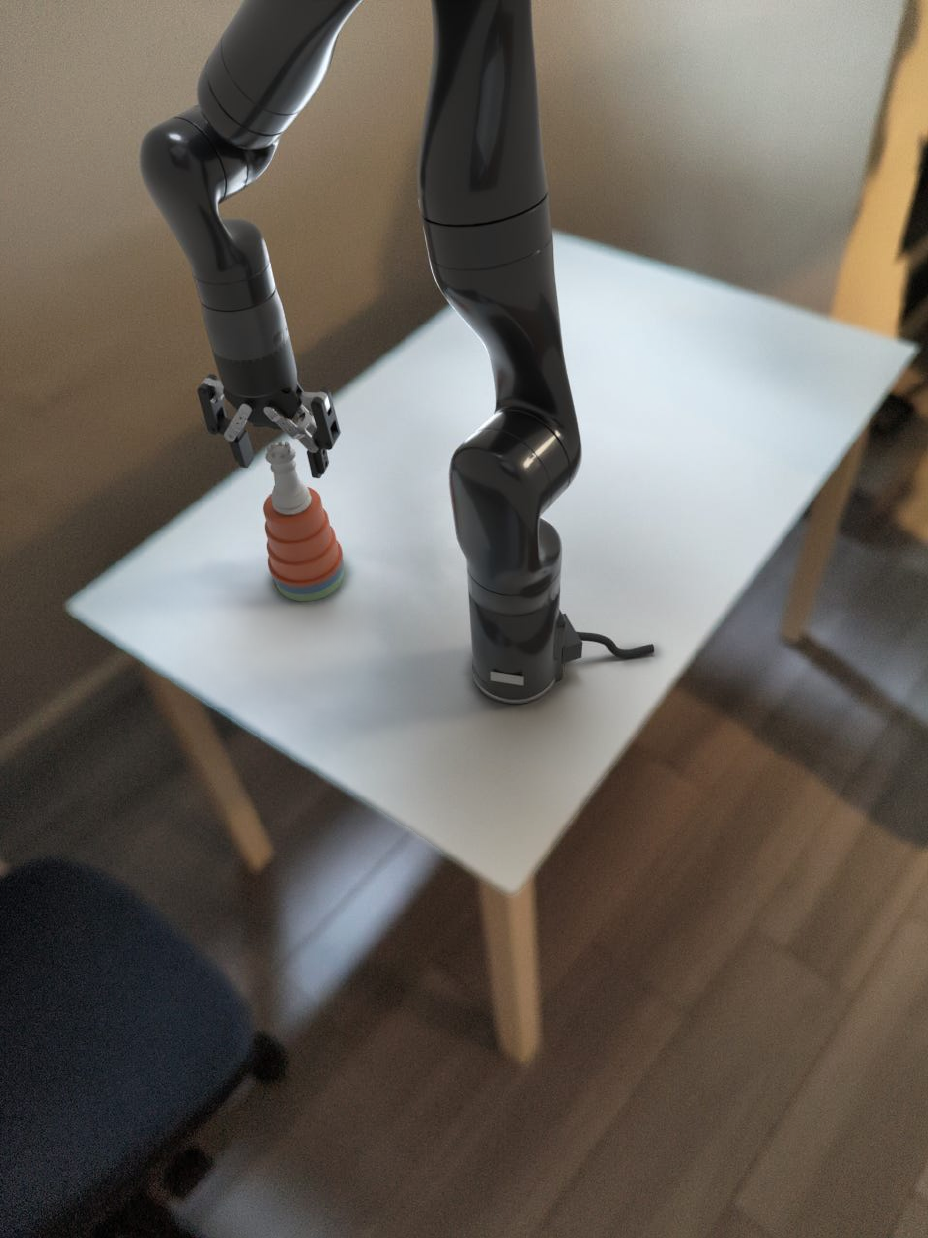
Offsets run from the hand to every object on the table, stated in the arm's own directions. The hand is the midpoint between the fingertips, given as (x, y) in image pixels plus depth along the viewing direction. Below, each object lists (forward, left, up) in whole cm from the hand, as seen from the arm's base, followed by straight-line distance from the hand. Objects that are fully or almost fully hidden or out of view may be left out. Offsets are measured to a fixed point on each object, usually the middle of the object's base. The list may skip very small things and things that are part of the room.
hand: (283, 468), depth 100 cm
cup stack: (0, 0, -17) cm, 17 cm away
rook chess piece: (0, 0, -5) cm, 5 cm away
